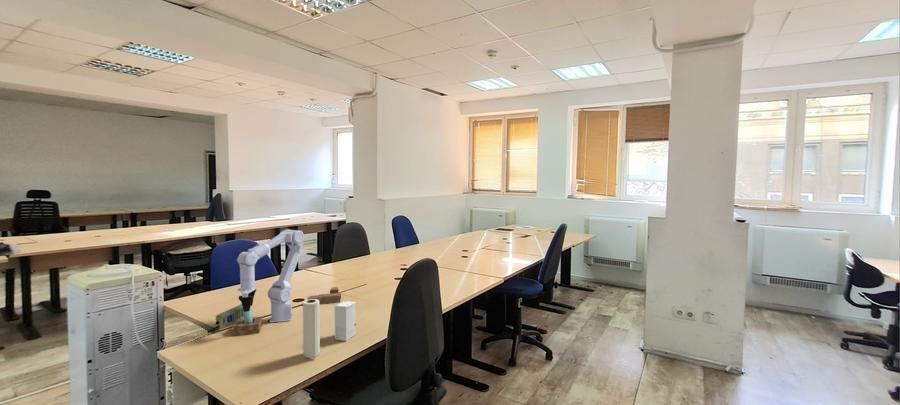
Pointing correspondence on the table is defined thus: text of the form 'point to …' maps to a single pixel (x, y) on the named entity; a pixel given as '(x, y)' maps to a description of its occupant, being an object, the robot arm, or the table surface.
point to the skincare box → (345, 320)
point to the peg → (248, 317)
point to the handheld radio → (228, 317)
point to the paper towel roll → (311, 328)
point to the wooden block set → (328, 297)
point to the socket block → (248, 326)
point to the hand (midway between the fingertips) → (248, 308)
